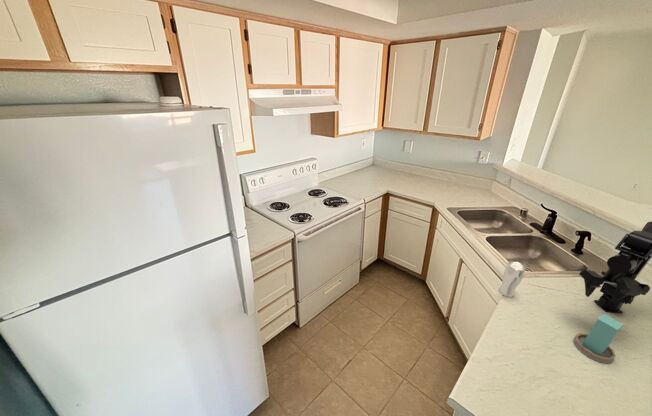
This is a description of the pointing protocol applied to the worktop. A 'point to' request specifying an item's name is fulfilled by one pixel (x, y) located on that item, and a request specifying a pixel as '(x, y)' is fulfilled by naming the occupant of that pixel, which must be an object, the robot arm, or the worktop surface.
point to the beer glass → (511, 278)
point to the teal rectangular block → (602, 334)
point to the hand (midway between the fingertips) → (599, 299)
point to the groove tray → (604, 358)
